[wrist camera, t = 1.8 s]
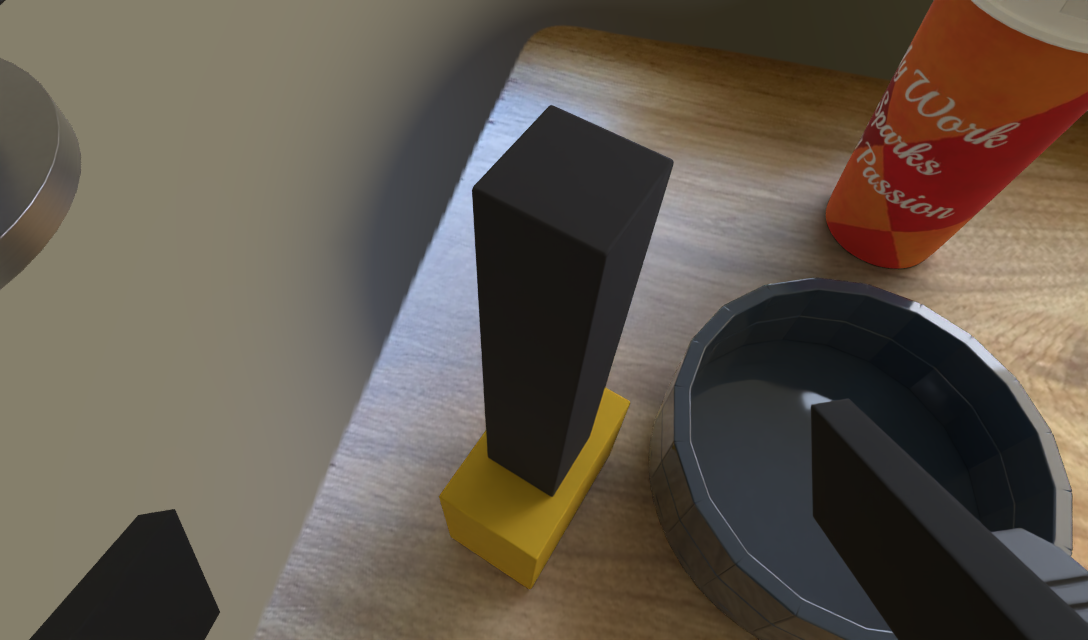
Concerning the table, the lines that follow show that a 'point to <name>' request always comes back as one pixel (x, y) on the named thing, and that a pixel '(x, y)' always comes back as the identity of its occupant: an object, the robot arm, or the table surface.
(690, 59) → the table surface
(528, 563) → the sponge wand
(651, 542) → the table surface
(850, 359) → the bowl
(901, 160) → the paper cup
